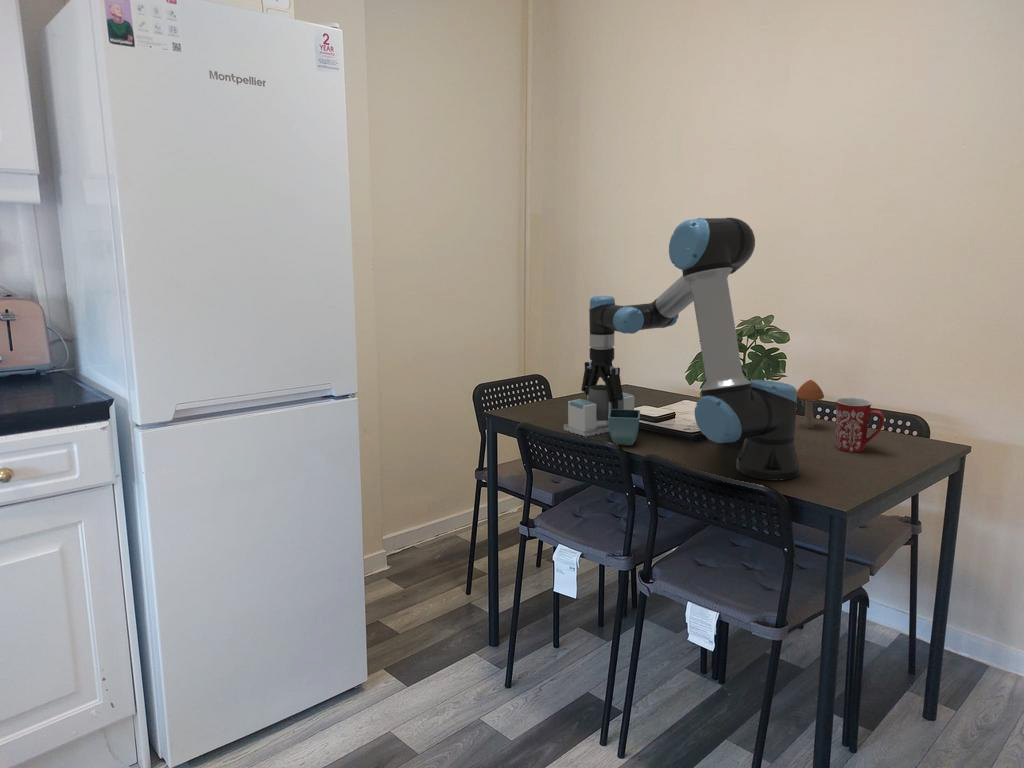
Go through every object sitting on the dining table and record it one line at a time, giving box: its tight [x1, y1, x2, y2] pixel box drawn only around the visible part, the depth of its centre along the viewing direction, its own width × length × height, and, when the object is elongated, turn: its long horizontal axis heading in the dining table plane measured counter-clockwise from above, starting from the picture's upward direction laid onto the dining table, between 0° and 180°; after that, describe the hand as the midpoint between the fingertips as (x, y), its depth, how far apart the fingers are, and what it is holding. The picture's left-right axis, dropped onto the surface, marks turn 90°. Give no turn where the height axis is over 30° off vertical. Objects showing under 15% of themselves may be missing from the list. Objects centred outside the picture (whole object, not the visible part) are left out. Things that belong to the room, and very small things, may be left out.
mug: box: [835, 397, 885, 453], centre depth 193 cm, size 13×9×14 cm
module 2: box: [618, 391, 635, 410], centre depth 224 cm, size 8×5×8 cm, turn 34°
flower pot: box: [608, 409, 641, 446], centre depth 204 cm, size 9×9×9 cm
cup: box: [588, 384, 610, 421], centre depth 219 cm, size 10×9×10 cm
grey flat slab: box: [563, 420, 610, 437], centre depth 221 cm, size 10×22×2 cm, turn 124°
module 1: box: [567, 398, 596, 432], centre depth 216 cm, size 8×5×8 cm, turn 34°
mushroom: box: [797, 379, 825, 429], centre depth 214 cm, size 8×8×15 cm
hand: (601, 418), depth 221 cm, fingers closed on cup, 9 cm apart
